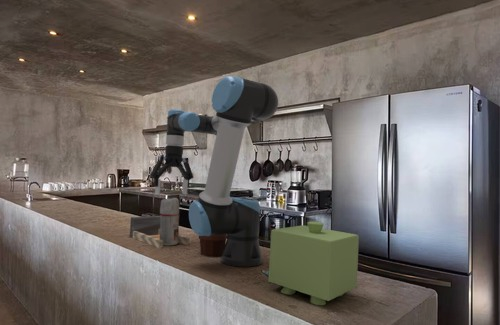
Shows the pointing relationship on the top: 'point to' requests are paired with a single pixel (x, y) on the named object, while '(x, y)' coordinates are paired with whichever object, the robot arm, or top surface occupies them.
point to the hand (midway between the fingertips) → (171, 194)
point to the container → (314, 261)
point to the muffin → (212, 244)
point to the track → (150, 231)
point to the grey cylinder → (169, 221)
